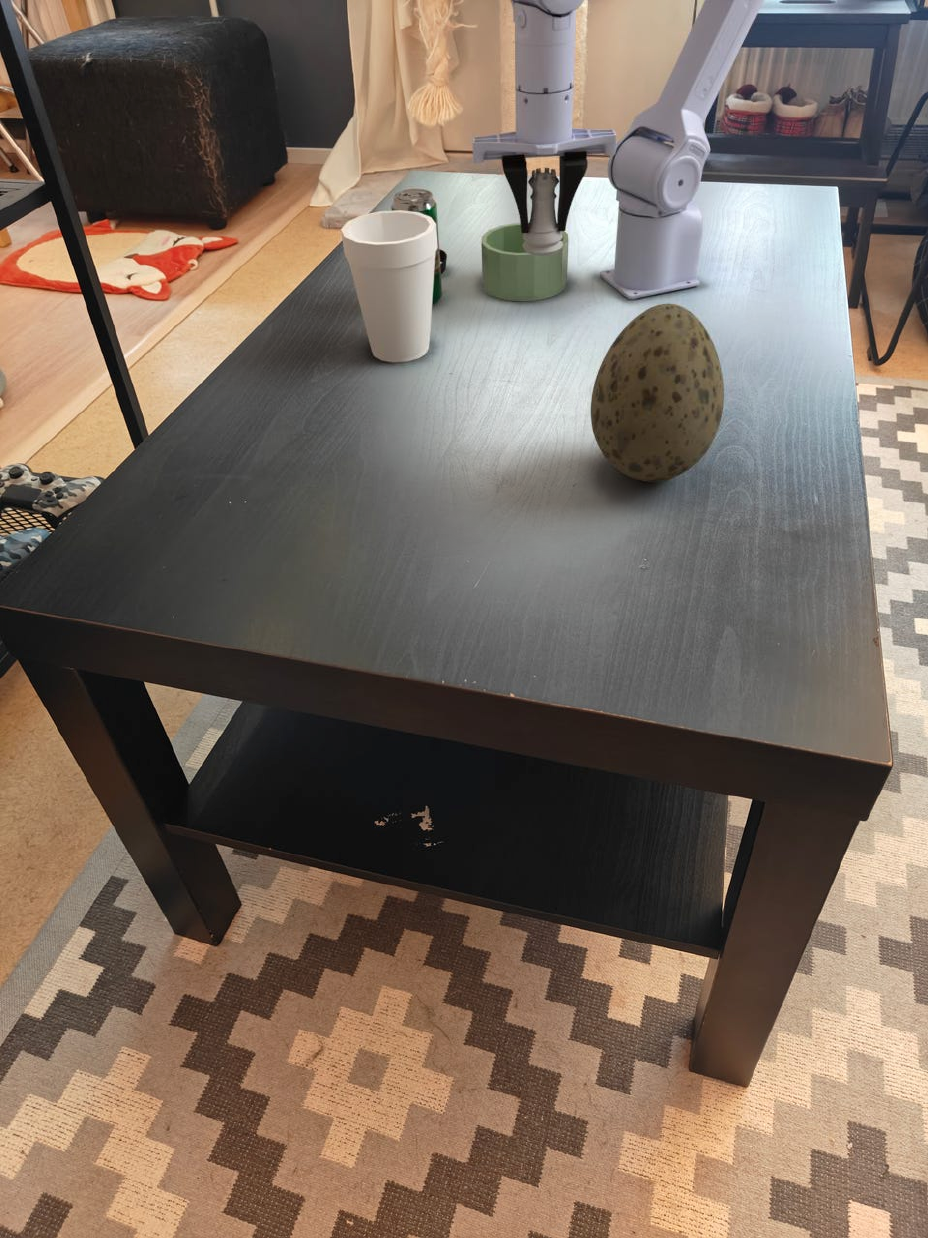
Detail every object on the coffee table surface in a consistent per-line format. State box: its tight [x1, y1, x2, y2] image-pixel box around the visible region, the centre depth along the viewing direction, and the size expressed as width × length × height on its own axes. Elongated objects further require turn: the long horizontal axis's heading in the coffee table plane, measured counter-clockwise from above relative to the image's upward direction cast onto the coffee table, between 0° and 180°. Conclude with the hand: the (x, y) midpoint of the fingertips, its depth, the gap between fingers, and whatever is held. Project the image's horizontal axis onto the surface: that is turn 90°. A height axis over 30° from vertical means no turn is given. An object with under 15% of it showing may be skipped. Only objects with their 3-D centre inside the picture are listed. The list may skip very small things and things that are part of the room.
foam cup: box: [340, 210, 438, 363], centre depth 94 cm, size 10×9×13 cm
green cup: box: [480, 222, 569, 302], centre depth 107 cm, size 10×10×6 cm
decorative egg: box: [590, 303, 725, 483], centre depth 74 cm, size 11×11×15 cm
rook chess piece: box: [523, 167, 563, 256], centre depth 96 cm, size 4×4×8 cm
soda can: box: [390, 188, 443, 306], centre depth 103 cm, size 5×5×12 cm
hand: (542, 228), depth 97 cm, fingers closed on rook chess piece, 3 cm apart
